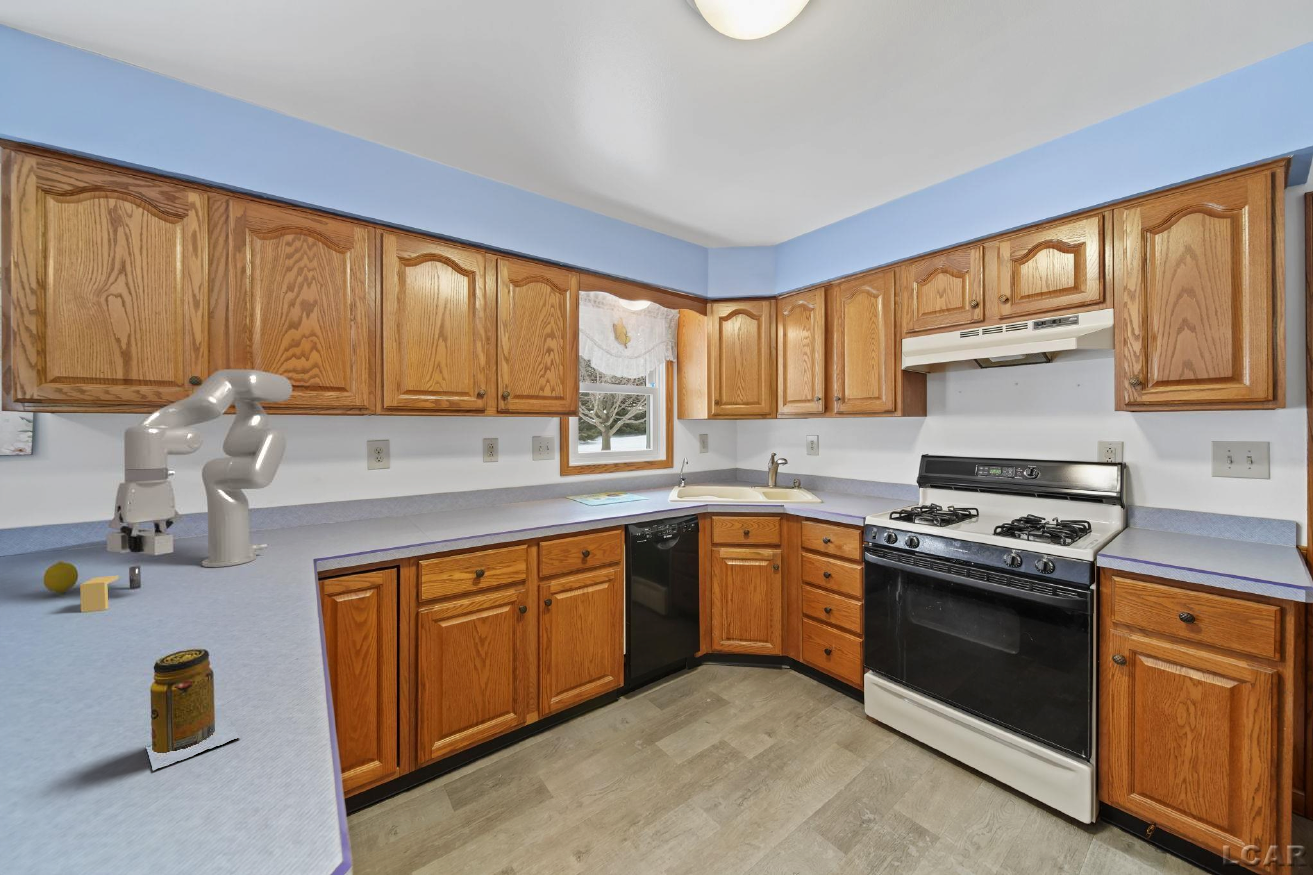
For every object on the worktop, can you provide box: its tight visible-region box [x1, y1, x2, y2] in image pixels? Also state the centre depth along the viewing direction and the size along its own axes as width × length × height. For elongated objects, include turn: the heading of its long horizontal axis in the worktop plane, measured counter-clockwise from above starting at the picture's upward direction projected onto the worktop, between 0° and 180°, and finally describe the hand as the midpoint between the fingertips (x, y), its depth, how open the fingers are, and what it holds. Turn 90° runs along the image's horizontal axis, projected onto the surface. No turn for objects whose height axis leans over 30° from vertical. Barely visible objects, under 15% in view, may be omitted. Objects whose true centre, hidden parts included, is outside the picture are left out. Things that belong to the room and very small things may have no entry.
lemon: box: [43, 561, 79, 595], centre depth 126 cm, size 6×6×8 cm
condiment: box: [149, 648, 216, 753], centre depth 67 cm, size 7×8×12 cm
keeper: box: [79, 575, 119, 613], centre depth 117 cm, size 6×4×6 cm
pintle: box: [128, 565, 142, 590], centre depth 130 cm, size 2×2×6 cm
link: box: [106, 528, 174, 556], centre depth 127 cm, size 18×7×4 cm, turn 68°
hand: (146, 549), depth 127 cm, fingers closed on link, 3 cm apart
